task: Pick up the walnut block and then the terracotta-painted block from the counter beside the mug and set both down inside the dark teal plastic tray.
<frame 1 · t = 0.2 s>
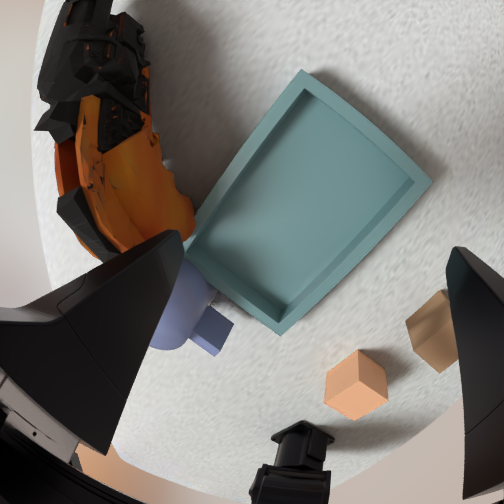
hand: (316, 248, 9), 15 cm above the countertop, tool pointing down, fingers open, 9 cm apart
block walnut: (435, 317, 25), on the countertop
tool: (144, 111, 24), on the countertop, touching tray
tray: (295, 209, 24), on the countertop
mug: (185, 276, 30), on the countertop
block terracotta: (356, 371, 29), on the countertop
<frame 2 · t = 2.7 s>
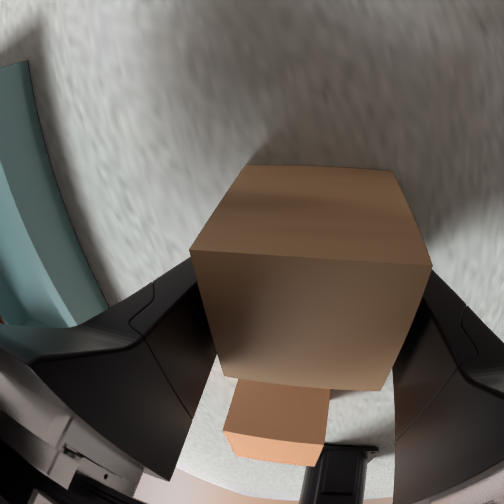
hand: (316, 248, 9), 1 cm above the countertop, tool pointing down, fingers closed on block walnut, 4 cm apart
block walnut: (317, 230, 10), on the countertop, touching gripper
tray: (17, 236, 14), on the countertop
block terracotta: (288, 380, 16), on the countertop
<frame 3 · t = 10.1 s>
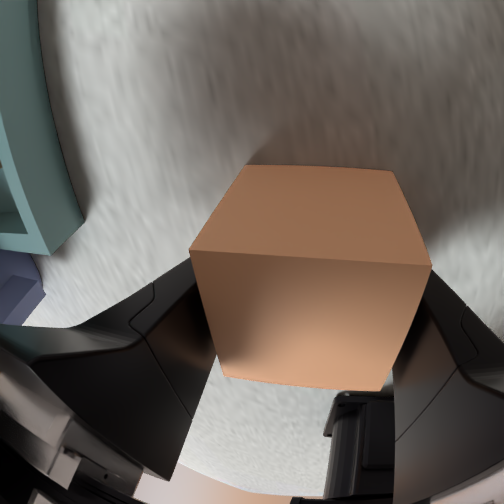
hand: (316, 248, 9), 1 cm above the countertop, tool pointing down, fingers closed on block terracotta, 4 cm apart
mug: (9, 258, 16), on the countertop
block terracotta: (317, 230, 10), on the countertop, touching gripper
when the fingers open (4 cm above the countertop, at t = 14.0 s): block terracotta drops 2 cm, resting on tray.
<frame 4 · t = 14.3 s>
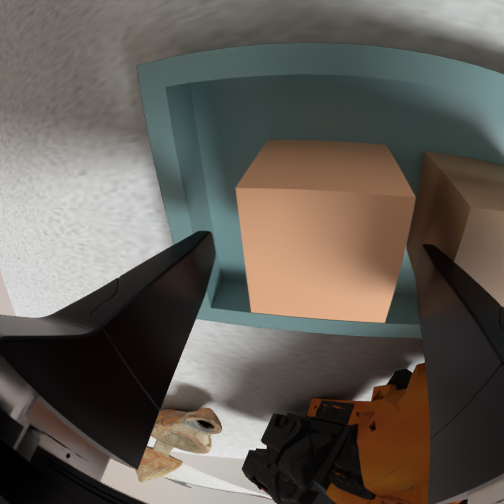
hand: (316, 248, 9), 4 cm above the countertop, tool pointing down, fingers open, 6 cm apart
oil lamp: (185, 414, 33), on the countertop
block walnut: (461, 207, 11), point 1 cm above the countertop, touching gripper, tray
tool: (359, 388, 21), on the countertop, touching tray
tray: (394, 196, 12), on the countertop
block terracotta: (326, 194, 12), resting on tray
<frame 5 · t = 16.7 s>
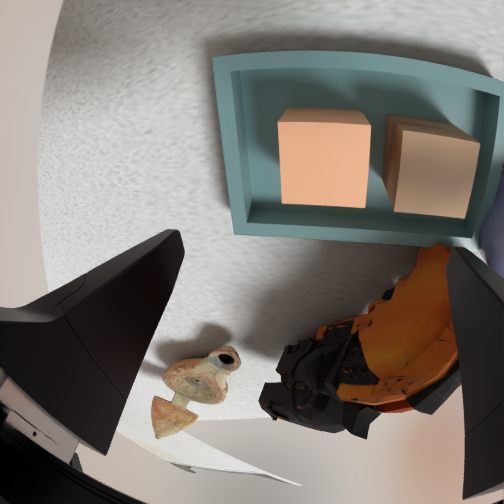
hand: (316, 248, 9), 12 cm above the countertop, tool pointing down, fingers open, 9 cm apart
oil lamp: (203, 365, 39), on the countertop
block walnut: (417, 150, 17), resting on tray
tool: (358, 315, 27), on the countertop, touching tray
tray: (369, 144, 18), on the countertop
mug: (503, 214, 18), on the countertop
block terracotta: (325, 141, 18), resting on tray
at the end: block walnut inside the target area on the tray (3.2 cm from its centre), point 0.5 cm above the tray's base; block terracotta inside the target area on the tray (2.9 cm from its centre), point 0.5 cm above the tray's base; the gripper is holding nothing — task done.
